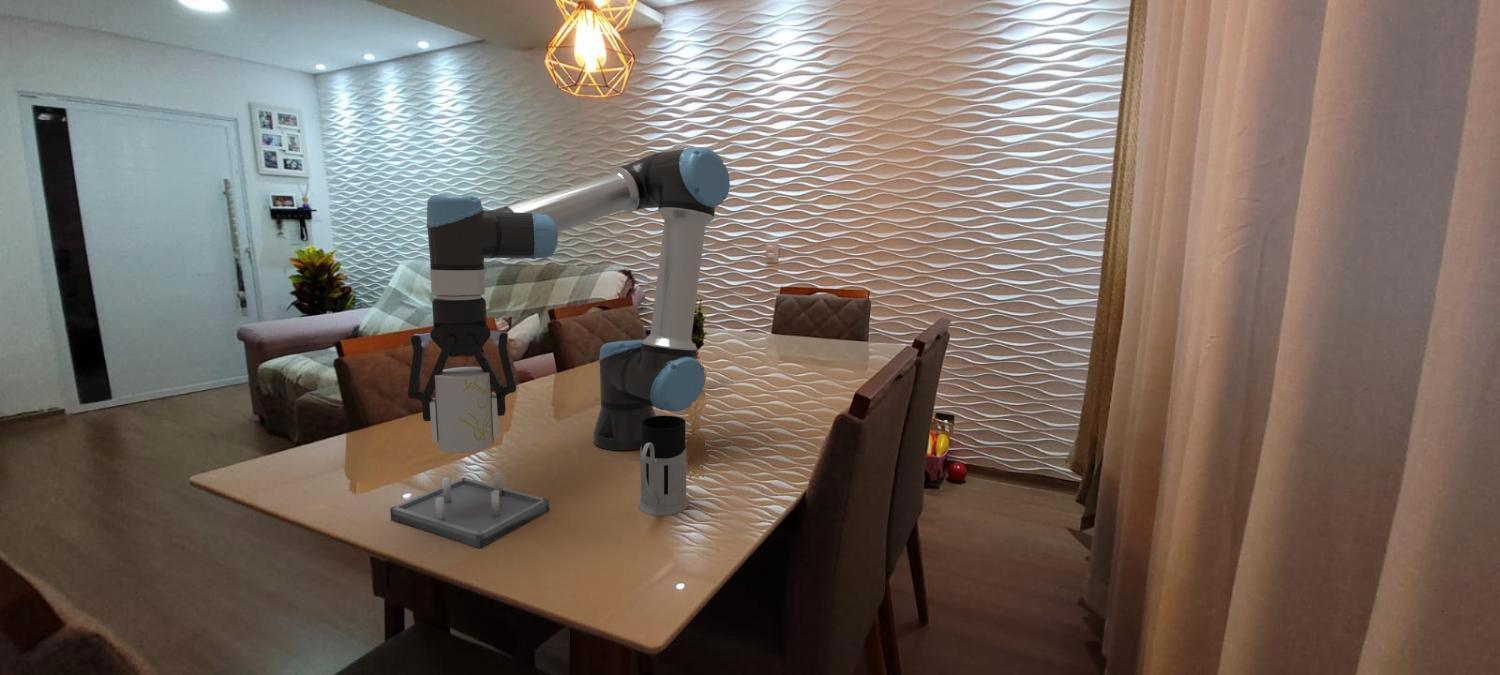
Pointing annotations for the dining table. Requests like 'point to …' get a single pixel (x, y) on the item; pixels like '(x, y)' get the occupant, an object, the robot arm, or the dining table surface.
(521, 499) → the tray
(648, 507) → the glass holder
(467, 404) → the cup
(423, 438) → the dining table surface
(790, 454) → the dining table surface
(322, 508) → the dining table surface
